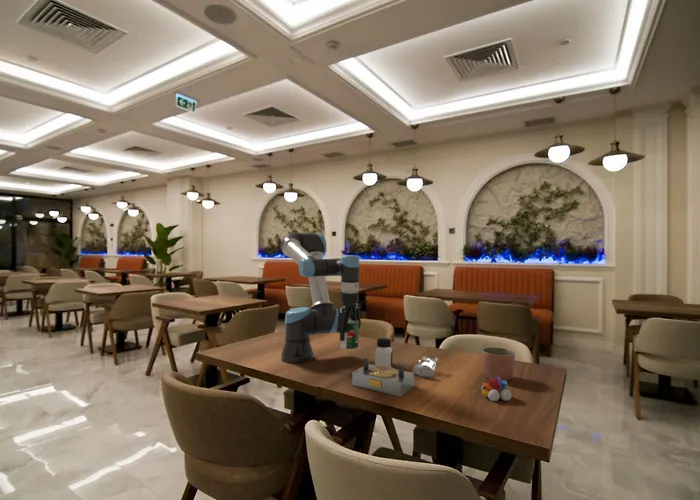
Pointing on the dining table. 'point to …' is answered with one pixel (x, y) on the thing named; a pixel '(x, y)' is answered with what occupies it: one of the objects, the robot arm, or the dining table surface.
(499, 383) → the rainbow wheeled toy
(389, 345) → the medicine bottle
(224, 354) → the dining table surface
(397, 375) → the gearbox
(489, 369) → the planter
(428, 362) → the figurine
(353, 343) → the canned tomato
